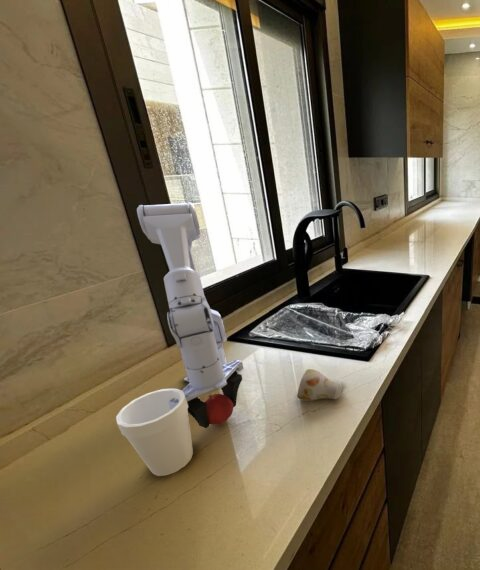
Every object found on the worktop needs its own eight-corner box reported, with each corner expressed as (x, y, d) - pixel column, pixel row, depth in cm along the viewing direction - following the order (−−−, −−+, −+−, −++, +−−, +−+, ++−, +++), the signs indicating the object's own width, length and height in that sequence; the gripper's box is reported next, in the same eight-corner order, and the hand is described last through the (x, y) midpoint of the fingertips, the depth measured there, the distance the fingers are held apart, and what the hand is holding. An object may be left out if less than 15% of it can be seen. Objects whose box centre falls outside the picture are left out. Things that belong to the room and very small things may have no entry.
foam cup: (153, 494, 55) (128, 436, 51) (131, 468, 60) (106, 412, 55) (212, 453, 63) (195, 400, 58) (188, 433, 67) (171, 382, 63)
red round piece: (214, 414, 73) (205, 384, 70) (241, 412, 73) (233, 383, 70) (199, 434, 67) (189, 403, 64) (228, 432, 68) (220, 402, 65)
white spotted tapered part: (342, 407, 75) (315, 381, 70) (310, 416, 78) (282, 392, 73) (351, 381, 81) (326, 355, 76) (320, 390, 84) (295, 366, 79)
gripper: (180, 388, 57) (199, 447, 62) (248, 346, 69) (260, 398, 74) (153, 379, 59) (173, 436, 64) (224, 340, 72) (236, 390, 77)
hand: (218, 415), depth 69 cm, fingers closed on red round piece, 6 cm apart
